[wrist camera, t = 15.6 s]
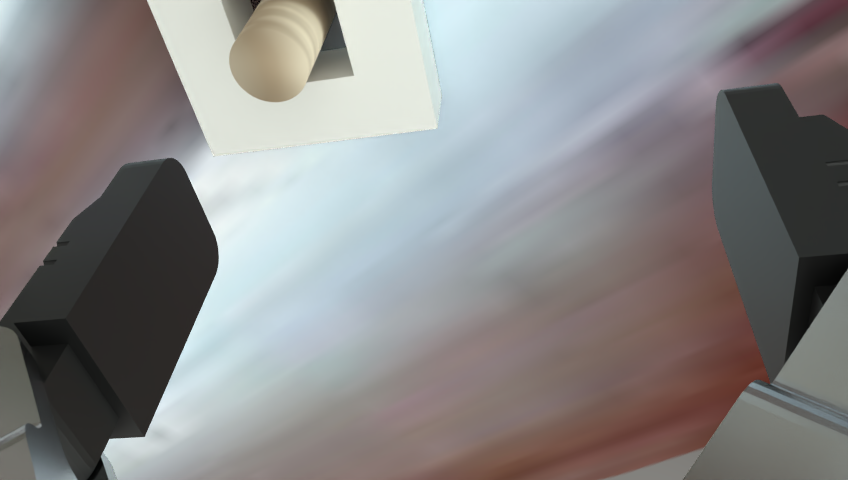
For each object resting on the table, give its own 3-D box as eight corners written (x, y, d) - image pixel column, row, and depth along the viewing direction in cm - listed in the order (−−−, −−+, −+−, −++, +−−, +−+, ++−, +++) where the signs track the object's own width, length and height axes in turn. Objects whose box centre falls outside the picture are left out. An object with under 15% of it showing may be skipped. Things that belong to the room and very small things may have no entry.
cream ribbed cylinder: (325, -36, 43) (294, 23, 37) (343, 31, 46) (317, 96, 40) (258, -25, 44) (217, 35, 38) (279, 40, 46) (244, 106, 40)
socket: (393, -148, 39) (383, -128, 36) (441, 95, 48) (437, 128, 45) (143, -100, 42) (114, -77, 39) (231, 123, 50) (213, 156, 47)
